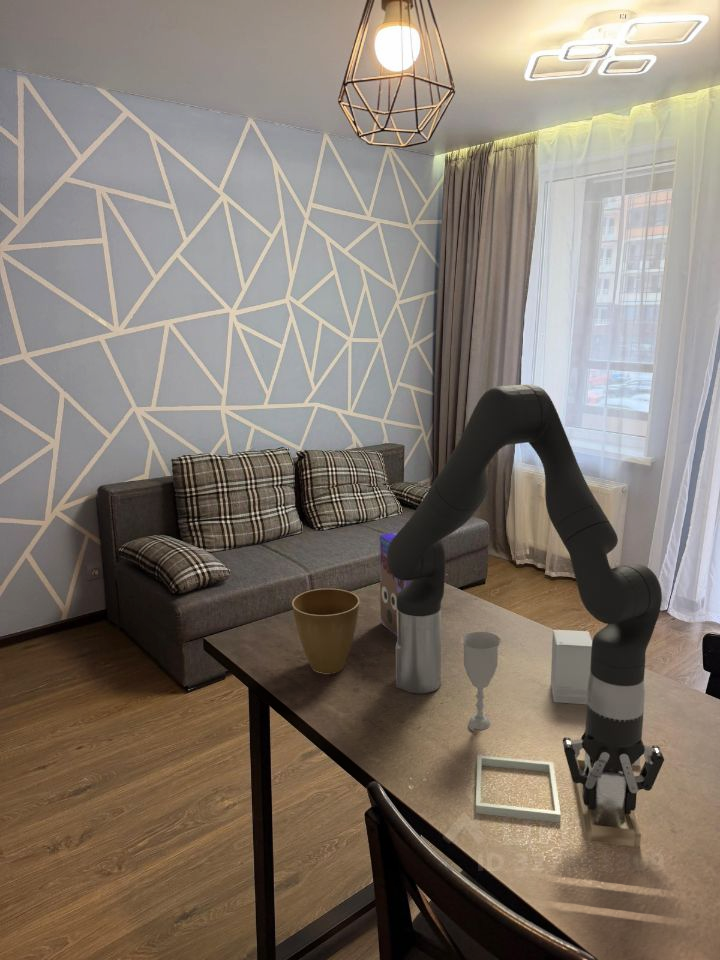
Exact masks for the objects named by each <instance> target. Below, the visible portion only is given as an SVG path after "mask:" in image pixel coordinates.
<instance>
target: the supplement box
mask: <svg viewBox="0 0 720 960" xmlns="http://www.w3.org/2000/svg"><path fill="white" fill-rule="evenodd" d="M551 639H552V640H551V642H552V644H551V645H552V646H551V669H550V670H551V672H550V688H551V693H552V694H551V695H552V699H553V702H554V703H561V704H563V703H564V704H574V705H575V704H576V705H586V706H587V696H586V692H587V688H588V680H589V676H590V667H591V649H592V641H593V638H592V636H591V634H590V632H589V631H586V630H572V629H571V630H568V629H553V630H552V638H551Z"/></svg>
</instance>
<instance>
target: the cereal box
mask: <svg viewBox="0 0 720 960" xmlns="http://www.w3.org/2000/svg"><path fill="white" fill-rule="evenodd" d="M397 533H398V532H393V533H392V532H389V533H385V534H380V535H378V542H379V543H378V544H379V545H378V547H379V548H378V551H379V556H378V557H379V558H378V559H379V591H380V593H379V594H380V596H379V597H380V599H379V600H380V604H379V605H380V623H381V622H382V623H383V624H384V625H385V626H386V627H387V628H388V629H389V630H391V631H390V632H391V633H392V632H393V633H394V634H395V635H396V636H395V635H394V634H393V633H392V634H393V635H394V636H395V637H397V602H396V601H397V595H398V593H399V592H400V591H401V590H403V589H404V588H405V587H407V586H408V585H409V584H410V583H411V582H412V581H413V580H408V581H405V580H399V579H397V578H395V577H394V576H393V575H392V574H391V573H390V571H389V569H388V566H387V551H388V547H389V545H390V543H391V541H392V539H393V538H394V537H395V536H396V535H397ZM385 626H384V627H385ZM386 627H385V628H386ZM387 628H386V629H387ZM388 629H387V630H388ZM389 630H388V631H389Z"/></svg>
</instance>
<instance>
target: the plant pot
mask: <svg viewBox="0 0 720 960" xmlns="http://www.w3.org/2000/svg"><path fill="white" fill-rule="evenodd" d="M291 605H292V607H291V608H292V612H293V616H294V620H295V621H294V622H295V625H296V629H297V634H298V636H299V638H300V643H301V646H302V648H303V651H304V654H305V656H306V659H307V661H308V663H309V666H310V667H312V668H313V669H314V670H315V671H318V672H322V673H333V672H337V673H339V672H340V670H341V671H342V670H343V669H344V668H345V664H346V662H347V659H348V656H349V654H350V651H351V647H352V644H353V641H354V638H355V637H354V636H355V632H356V628H357V622H358V615H359V609H360V597H359V596H358V595H356V594H355V593H353V592H351V591H348V590H344V589H339V588H317V589H312V590H307V591H304V592H301V593H300V594H298V595H297V596H295V597H294V598H293V599H292V602H291ZM312 668H311V669H312ZM313 669H312V670H313ZM315 671H314V672H315ZM338 671H339V672H338Z"/></svg>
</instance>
